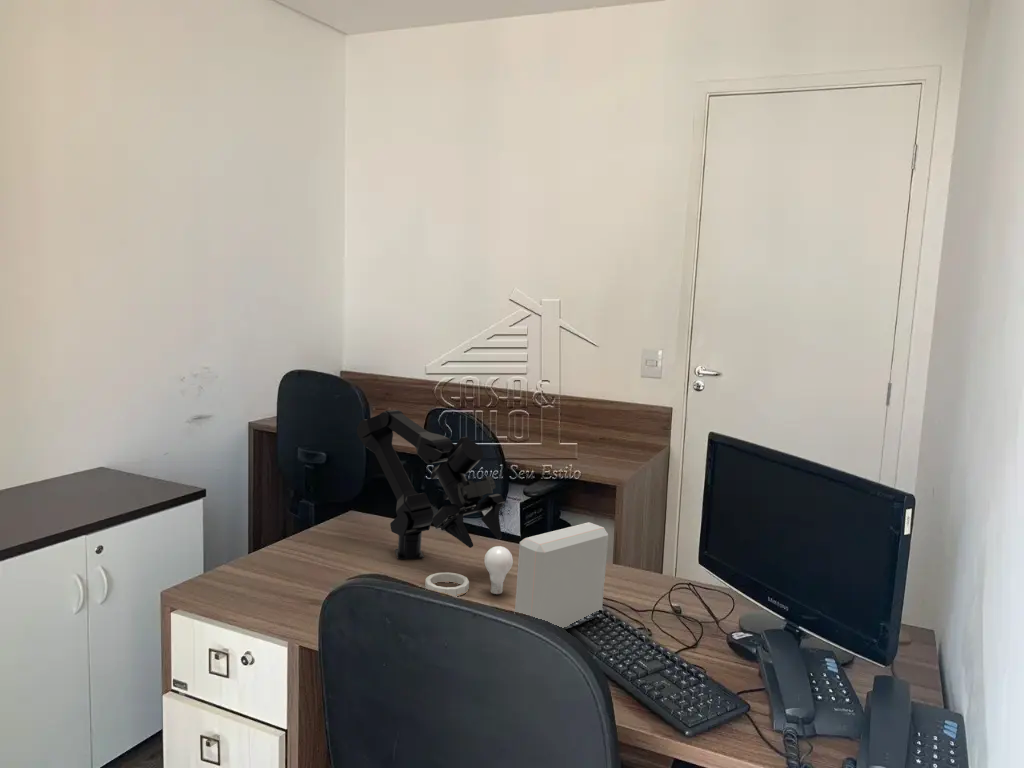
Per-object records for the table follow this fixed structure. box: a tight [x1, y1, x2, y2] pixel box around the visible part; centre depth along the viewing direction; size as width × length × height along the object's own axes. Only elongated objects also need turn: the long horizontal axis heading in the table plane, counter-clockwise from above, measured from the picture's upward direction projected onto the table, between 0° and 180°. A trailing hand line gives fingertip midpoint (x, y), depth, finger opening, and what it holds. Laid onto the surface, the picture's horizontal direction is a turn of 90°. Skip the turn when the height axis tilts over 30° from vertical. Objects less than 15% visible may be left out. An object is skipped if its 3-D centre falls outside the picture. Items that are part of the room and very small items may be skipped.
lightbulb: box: [483, 545, 514, 596], centre depth 168 cm, size 6×6×11 cm
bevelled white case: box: [514, 521, 609, 628], centre depth 154 cm, size 21×8×20 cm, turn 133°
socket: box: [424, 571, 470, 596], centre depth 170 cm, size 10×10×2 cm
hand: (486, 542), depth 170 cm, fingers open, 9 cm apart
